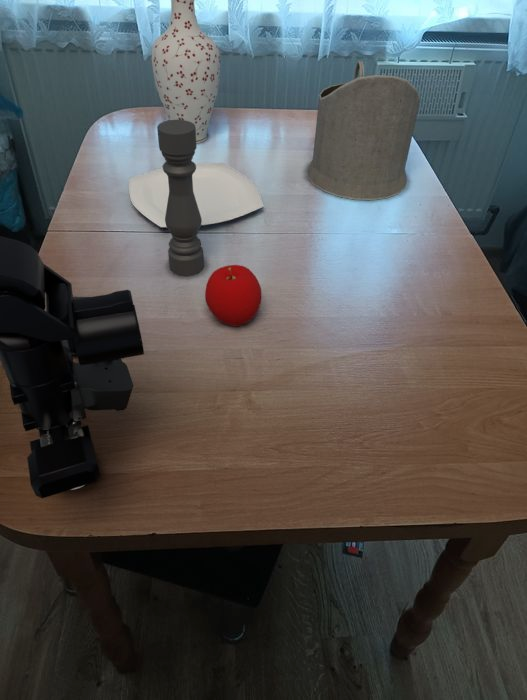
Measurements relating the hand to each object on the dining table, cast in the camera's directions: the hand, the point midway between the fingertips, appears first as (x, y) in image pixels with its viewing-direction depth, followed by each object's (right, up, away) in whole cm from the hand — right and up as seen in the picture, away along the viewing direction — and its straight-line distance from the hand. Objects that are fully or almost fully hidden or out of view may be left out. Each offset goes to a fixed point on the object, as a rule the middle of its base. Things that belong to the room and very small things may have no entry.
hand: (70, 459), depth 63 cm
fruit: (+18, +18, +25) cm, 36 cm away
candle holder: (+9, +28, +34) cm, 45 cm away
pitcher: (+44, +56, +66) cm, 98 cm away
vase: (+4, +68, +76) cm, 102 cm away
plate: (+8, +45, +52) cm, 69 cm away
